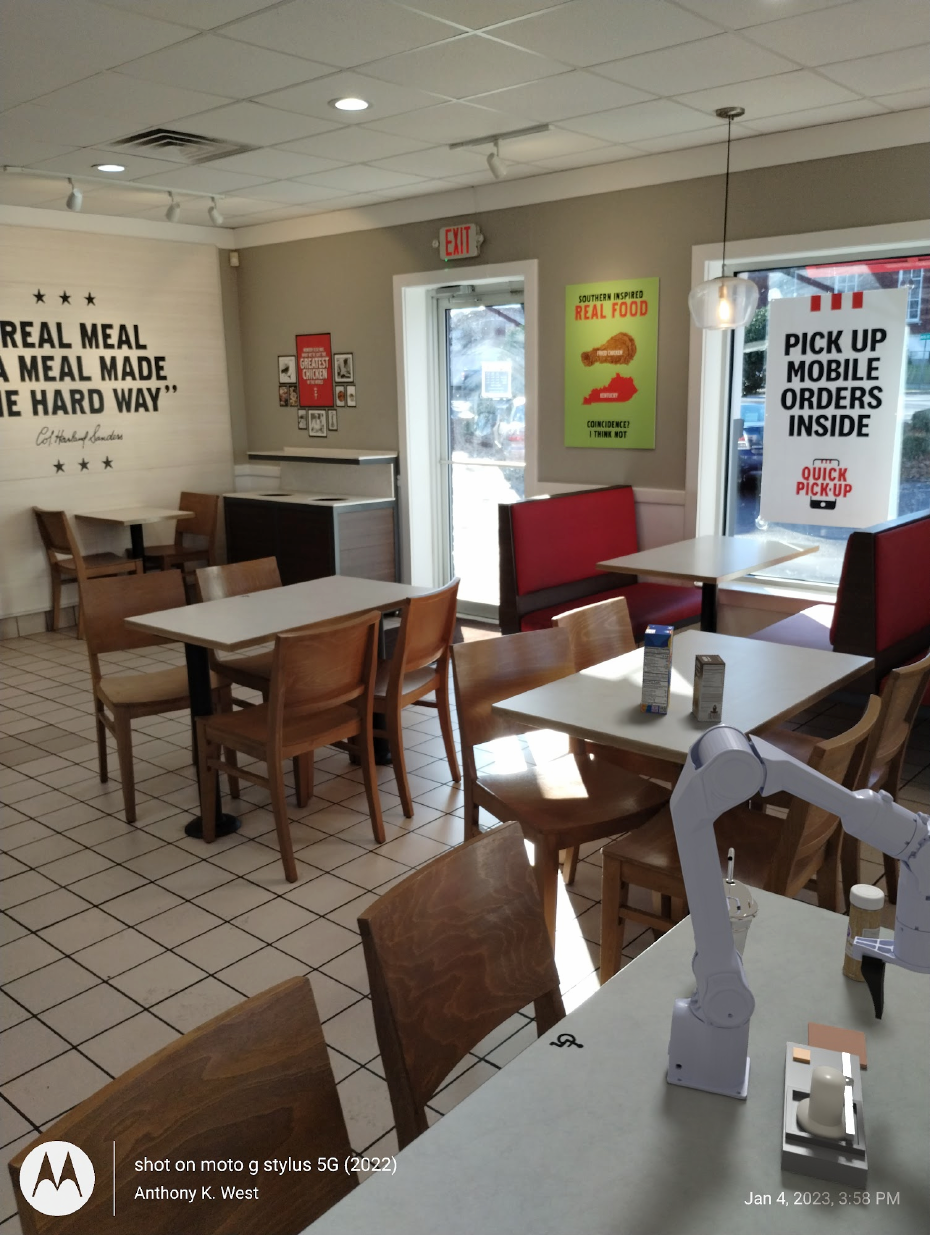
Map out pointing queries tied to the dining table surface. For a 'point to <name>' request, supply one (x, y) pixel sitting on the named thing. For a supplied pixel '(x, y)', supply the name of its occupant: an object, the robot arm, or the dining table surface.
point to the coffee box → (708, 687)
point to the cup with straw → (739, 906)
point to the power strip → (812, 1151)
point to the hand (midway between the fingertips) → (913, 1023)
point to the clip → (848, 1097)
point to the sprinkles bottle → (862, 924)
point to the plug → (824, 1105)
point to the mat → (838, 1040)
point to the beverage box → (657, 669)
